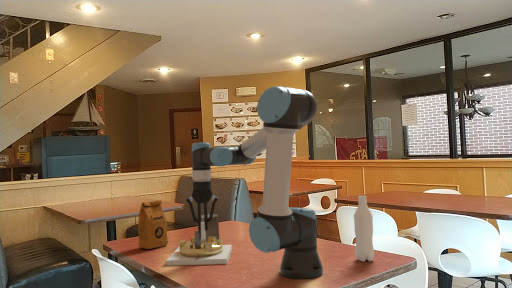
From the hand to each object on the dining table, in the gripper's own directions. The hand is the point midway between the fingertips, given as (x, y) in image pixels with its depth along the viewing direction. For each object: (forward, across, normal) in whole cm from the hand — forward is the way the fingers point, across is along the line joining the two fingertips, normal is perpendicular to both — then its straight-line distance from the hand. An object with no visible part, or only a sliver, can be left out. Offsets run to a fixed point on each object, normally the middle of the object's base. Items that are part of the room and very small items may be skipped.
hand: (203, 238), depth 162 cm
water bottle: (+9, -63, +9) cm, 65 cm away
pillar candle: (+10, 0, -32) cm, 33 cm away
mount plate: (+9, +2, -8) cm, 12 cm away
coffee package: (+10, +26, -30) cm, 41 cm away
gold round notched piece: (+7, +2, -8) cm, 10 cm away
